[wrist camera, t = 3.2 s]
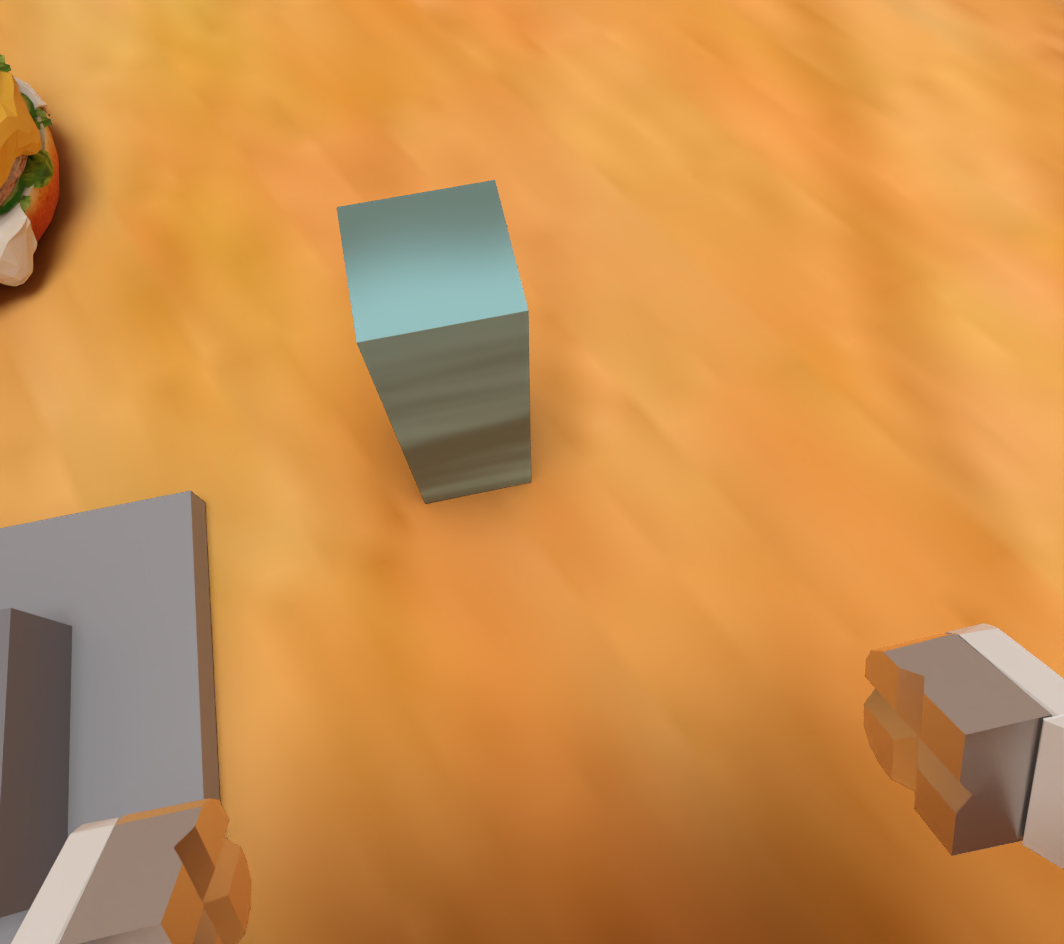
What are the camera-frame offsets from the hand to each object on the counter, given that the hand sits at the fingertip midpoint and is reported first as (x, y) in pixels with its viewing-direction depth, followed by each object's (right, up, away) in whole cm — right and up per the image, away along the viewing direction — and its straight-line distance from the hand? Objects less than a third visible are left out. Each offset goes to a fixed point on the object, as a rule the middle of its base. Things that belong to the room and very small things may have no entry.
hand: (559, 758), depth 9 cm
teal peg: (-3, +5, +19) cm, 19 cm away
